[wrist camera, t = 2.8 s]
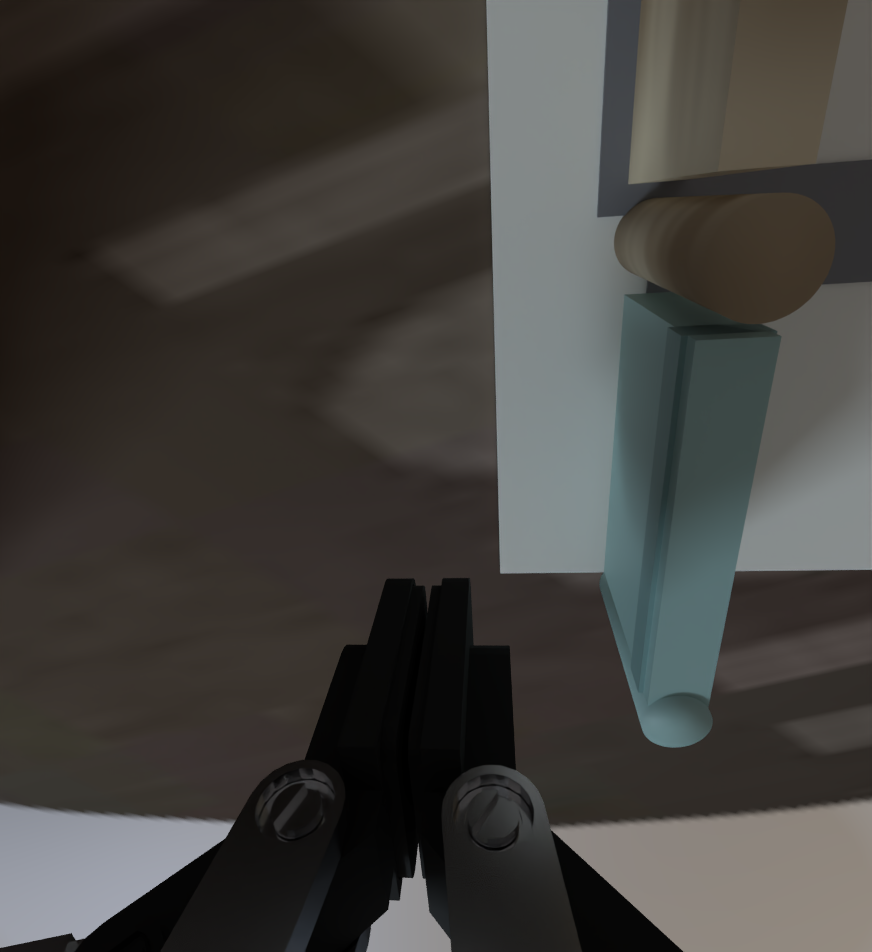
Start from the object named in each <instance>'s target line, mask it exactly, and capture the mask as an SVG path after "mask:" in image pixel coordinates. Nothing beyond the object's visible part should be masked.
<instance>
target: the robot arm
mask: <svg viewBox="0 0 872 952" xmlns="http://www.w3.org/2000/svg"><path fill="white" fill-rule="evenodd" d="M418 844H419V852H420V859H421V868H422V876H423V878H424V879H426V886H427V895H428V903H429V911H430V913H431V914H432V916H433V917H434V918H435V919H436V921H437V922H438V924H439V925H440V926H441V928H442V929H443V930H444V931H445V933H446V934H447V935H448V937H449V938H450V939H451V950H452V952H683V951H682V950H681V949H680V948H679V947H678V946H677V945H675V944H674V943H673V942H672V941H671V940H670V939H669V938H668V937H667V936H666V935H664V933H662V932H661V931H660V930H659V929H658V928H657V927H656V926H655V925H654V924H653V923H652V922H650V921H649V920H648V919H647V918H646V917H645V916H644V915H643V914H642V913H641V912H640V911H638V910H637V909H636V908H635V907H634V906H633V905H632V904H631V903H630V902H629V901H627V899H625V898H624V897H623V896H622V895H621V894H620V893H619V892H618V891H617V890H616V889H615V888H613V887H612V886H611V885H610V884H609V883H608V882H607V881H606V880H605V879H604V878H603V877H601V876H600V875H599V874H598V873H597V872H596V871H595V870H594V869H593V868H592V867H591V866H590V865H588V864H587V863H586V862H585V861H584V860H583V859H582V858H581V857H580V856H579V855H578V854H576V853H575V852H574V851H573V850H572V849H571V848H570V847H569V846H568V845H567V844H565V843H564V842H563V841H562V840H561V839H560V838H559V837H558V836H557V835H556V834H555V833H554V832H553V831H551V829H550V825H549V821H548V817H547V814H546V810H545V806H544V803H543V801H542V798H541V796H540V794H539V791H538V790H537V789H536V787H535V786H534V785H533V784H532V783H531V782H530V780H529V779H528V778H526V777H525V776H523V775H522V774H520V773H519V772H517V771H516V764H515V744H514V725H513V705H512V685H511V665H510V647H509V646H474V645H473V625H472V606H471V586H470V578H443V579H442V585H441V586H432V589H431V595H430V601H429V608H428V613H427V602H426V592H425V586H416V584H415V580H414V579H387V580H386V582H385V585H384V588H383V592H382V595H381V599H380V602H379V605H378V609H377V612H376V616H375V619H374V623H373V626H372V629H371V633H370V636H369V640H368V643H367V645H346V646H345V647H344V649H343V651H342V653H341V656H340V659H339V662H338V665H337V668H336V670H335V673H334V676H333V679H332V682H331V685H330V688H329V691H328V694H327V697H326V699H325V702H324V705H323V708H322V711H321V714H320V717H319V720H318V723H317V725H316V728H315V731H314V734H313V737H312V740H311V743H310V746H309V749H308V751H307V754H306V757H305V760H300V761H296V762H292V763H288V764H286V765H284V766H282V767H280V768H278V769H276V770H274V771H273V772H271V773H270V774H269V775H268V776H267V777H265V778H264V779H263V780H262V781H261V782H260V783H259V785H258V786H257V787H256V788H255V790H254V791H253V792H252V794H251V795H250V797H249V799H248V801H247V802H246V804H245V806H244V807H243V809H242V811H241V813H240V814H239V816H238V818H237V820H236V821H235V823H234V825H233V827H232V828H231V830H230V832H229V833H228V835H227V837H226V838H225V839H224V840H223V841H221V842H220V843H218V844H217V845H215V846H214V847H212V848H211V849H210V850H208V851H207V852H205V853H204V854H203V855H201V856H199V858H197V859H195V860H194V861H192V862H191V863H189V864H188V865H186V866H185V867H184V868H182V869H181V870H179V871H178V872H176V873H175V874H174V875H172V876H171V877H169V878H168V879H166V880H165V881H164V882H162V883H160V884H159V885H158V886H156V887H155V888H153V889H152V890H150V891H149V892H148V893H146V894H145V895H143V896H142V897H140V898H139V899H137V900H136V901H134V902H133V903H132V904H130V905H129V906H127V907H126V908H125V909H123V910H121V911H120V912H119V913H117V914H116V915H114V916H113V917H111V918H110V919H108V920H107V921H106V922H104V923H103V924H102V925H101V926H99V927H98V928H97V929H96V930H95V931H93V932H92V933H91V934H90V935H89V936H87V937H86V938H85V939H81V940H75V938H74V937H73V935H72V933H71V934H66V935H61V936H56V937H52V938H47V939H42V940H37V941H32V942H27V943H23V944H18V945H13V946H8V947H4V948H0V952H366V950H367V947H368V943H369V937H370V930H371V925H372V924H373V923H374V922H375V921H376V920H377V919H378V918H379V917H380V916H382V915H383V914H384V913H385V912H386V911H387V910H388V906H389V900H400V893H401V886H402V878H403V877H405V878H413V877H414V873H415V865H416V857H417V848H418Z"/></svg>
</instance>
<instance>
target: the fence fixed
mask: <svg viewBox="0 0 872 952" xmlns="http://www.w3.org/2000/svg"><path fill="white" fill-rule="evenodd" d="M847 3H848V0H641V10H640V24H639V38H638V52H637V66H636V80H635V94H634V108H633V123H632V137H631V151H630V165H629V179H628V184H639V183H652V182H664V181H677V180H688V179H696V178H704V177H712V176H720V175H728V174H736V173H744V172H752V171H760V170H768V169H776V168H784V167H792V166H800V165H808V164H816V160H817V155H818V150H819V145H820V140H821V135H822V130H823V125H824V120H825V115H826V109H827V104H828V99H829V94H830V89H831V84H832V79H833V74H834V69H835V64H836V59H837V54H838V49H839V44H840V39H841V34H842V29H843V24H844V19H845V14H846V8H847ZM614 250H615V254H616V257H617V259H618V261H619V263H620V264H621V265H622V266H623V267H624V268H625V269H626V270H627V271H629V272H630V273H632V274H635V275H637V276H639V277H641V278H643V279H645V280H647V281H650V282H652V283H654V284H656V285H658V286H660V287H662V288H665V289H667V290H669V291H671V292H673V293H675V294H677V295H680V296H682V297H684V298H686V299H688V300H690V301H692V302H695V303H697V304H699V305H701V306H703V307H705V308H707V309H710V310H712V311H714V312H716V313H718V314H720V315H722V316H725V317H727V318H729V319H731V320H733V321H736V322H740V323H745V324H763V323H768V322H773V321H776V320H778V319H781V318H783V317H785V316H787V315H790V314H791V313H793V312H794V311H796V310H798V309H799V308H800V307H801V306H803V305H804V304H805V303H806V302H807V301H808V300H810V299H811V298H812V296H813V295H814V294H815V293H816V292H817V291H818V289H819V288H820V287H821V285H822V284H823V282H824V280H825V278H826V277H827V275H828V273H829V270H830V268H831V265H832V262H833V258H834V253H835V232H834V228H833V225H832V222H831V220H830V218H829V216H828V214H827V213H826V211H825V210H824V209H823V208H822V207H821V206H820V205H819V204H818V203H816V202H815V201H814V200H812V199H810V198H808V197H806V196H803V195H800V194H795V193H760V194H736V195H712V196H688V197H664V198H651V199H648V200H645V201H642V202H640V203H639V204H637V205H635V206H634V207H633V208H631V209H630V210H629V211H628V212H627V214H626V215H625V216H623V217H622V219H621V220H620V222H619V224H618V226H617V229H616V232H615V236H614Z"/></svg>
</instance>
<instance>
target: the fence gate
mask: <svg viewBox="0 0 872 952" xmlns="http://www.w3.org/2000/svg"><path fill="white" fill-rule="evenodd" d="M781 337H782V336H780V335H778V334H777V331H776V330H774V329H772V328H770V327H767V326H765V325H763V324H745V323H740V322H736V321H733V320H731V319H729V318H727V317H725V316H722V315H720V314H718V313H716V312H714V311H712V310H710V309H707V308H705V307H703V306H701V305H699V304H697V303H695V302H692V301H690V300H688V299H686V298H684V297H682V296H680V295H677V294H675V293H673V292H659V293H643V294H626V295H624V307H623V320H622V334H621V347H620V361H619V374H618V388H617V401H616V415H615V428H614V442H613V456H612V469H611V483H610V496H609V510H608V523H607V537H606V550H605V564H604V573H603V574H602V576H601V578H600V590H601V593H602V596H603V600H604V603H605V606H606V610H607V613H608V616H609V620H610V623H611V626H612V630H613V633H614V636H615V640H616V643H617V646H618V650H619V653H620V657H621V660H622V663H623V667H624V670H625V673H626V677H627V680H628V683H629V687H630V690H631V693H632V697H633V700H634V703H635V707H636V710H637V713H638V717H639V720H640V723H641V727H642V730H643V733H644V734H645V736H646V737H647V738H648V739H649V740H650V741H652V742H653V743H655V744H658V745H661V746H665V747H684V746H688V745H691V744H694V743H696V742H698V741H700V740H701V739H703V738H704V737H705V736H706V735H707V734H708V733H709V731H710V730H711V728H712V723H713V719H712V715H711V713H710V711H709V709H708V706H709V701H710V696H711V690H712V685H713V680H714V675H715V670H716V665H717V660H718V655H719V650H720V645H721V640H722V635H723V630H724V625H725V620H726V615H727V610H728V605H729V600H730V594H731V589H732V584H733V579H734V574H735V569H736V564H737V559H738V554H739V549H740V544H741V539H742V534H743V529H744V524H745V519H746V514H747V509H748V504H749V498H750V493H751V488H752V483H753V478H754V473H755V468H756V463H757V458H758V453H759V448H760V443H761V438H762V433H763V428H764V423H765V418H766V413H767V408H768V402H769V397H770V392H771V387H772V382H773V377H774V372H775V367H776V362H777V357H778V352H779V347H780V342H781Z"/></svg>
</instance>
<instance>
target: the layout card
mask: <svg viewBox="0 0 872 952" xmlns="http://www.w3.org/2000/svg"><path fill="white" fill-rule="evenodd" d="M486 5H487V46H488V87H489V129H490V170H491V211H492V252H493V293H494V335H495V376H496V417H497V458H498V500H499V541H500V573H582V572H604V564H605V550H606V537H607V523H608V510H609V496H610V483H611V469H612V456H613V442H614V428H615V415H616V401H617V388H618V374H619V361H620V347H621V334H622V320H623V307H624V295H626V294H643V293H659V292H671V291H669V290H667V289H665V288H662V287H660V286H658V285H656V284H654V283H652V282H650V281H647V280H645V279H643V278H641V277H639V276H637V275H635V274H632V273H630V272H629V271H627V270H626V269H625V268H624V267H623V266H622V265H621V264H620V263H619V261H618V259H617V257H616V254H615V250H614V236H615V232H616V229H617V226H618V224H619V222H620V220H621V219H622V217H623V216H625V215H626V214H627V212H628V211H629V210H630V209H631V208H633V207H634V206H635V205H637V204H639V203H640V202H642V201H645V200H648V199H651V198H664V197H688V196H712V195H736V194H760V193H795V194H800V195H803V196H806V197H808V198H810V199H812V200H814V201H815V202H816V203H818V204H819V205H820V206H821V207H822V208H823V209H824V210H825V211H826V213H827V214H828V216H829V218H830V220H831V222H832V225H833V228H834V232H835V253H834V258H833V262H832V265H831V268H830V270H829V273H828V275H827V277H826V278H825V280H824V282H823V284H822V285H821V287H820V288H819V289H818V291H817V292H816V293H815V294H814V295H813V296H812V298H811V299H810V300H808V301H807V302H806V303H805V304H804V305H803V306H801V307H800V308H799V309H798V310H796V311H794V312H793V313H791V314H790V315H787V316H785V317H783V318H781V319H778V320H776V321H773V322H768V323H763V325H765V326H767V327H770V328H772V329H774V330H776V331H777V334H778V335H780V336H782V337H781V342H780V347H779V352H778V357H777V362H776V367H775V372H774V377H773V382H772V387H771V392H770V397H769V402H768V408H767V413H766V418H765V423H764V428H763V433H762V438H761V443H760V448H759V453H758V458H757V463H756V468H755V473H754V478H753V483H752V488H751V493H750V498H749V504H748V509H747V514H746V519H745V524H744V529H743V534H742V539H741V544H740V549H739V554H738V559H737V564H736V569H735V571H781V570H872V0H848V3H847V8H846V14H845V19H844V24H843V29H842V34H841V39H840V44H839V49H838V54H837V59H836V64H835V69H834V74H833V79H832V84H831V89H830V94H829V99H828V104H827V109H826V115H825V120H824V125H823V130H822V135H821V140H820V145H819V150H818V155H817V160H816V164H808V165H800V166H792V167H784V168H776V169H768V170H760V171H752V172H744V173H736V174H728V175H720V176H712V177H704V178H696V179H688V180H677V181H664V182H652V183H639V184H628V179H629V165H630V151H631V137H632V123H633V108H634V94H635V80H636V66H637V52H638V38H639V24H640V10H641V0H486Z"/></svg>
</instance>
